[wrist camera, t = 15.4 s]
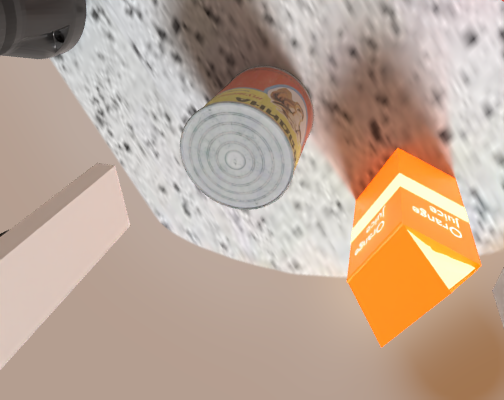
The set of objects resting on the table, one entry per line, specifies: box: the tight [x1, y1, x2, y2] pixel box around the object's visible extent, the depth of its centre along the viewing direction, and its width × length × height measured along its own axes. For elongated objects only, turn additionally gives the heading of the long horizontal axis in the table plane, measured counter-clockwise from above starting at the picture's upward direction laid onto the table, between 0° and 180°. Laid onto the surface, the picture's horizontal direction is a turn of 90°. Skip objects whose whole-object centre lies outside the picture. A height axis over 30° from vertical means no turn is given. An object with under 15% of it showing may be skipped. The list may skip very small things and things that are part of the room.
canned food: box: [180, 66, 314, 210], centre depth 40 cm, size 11×11×12 cm
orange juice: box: [347, 148, 481, 347], centre depth 37 cm, size 8×9×20 cm
